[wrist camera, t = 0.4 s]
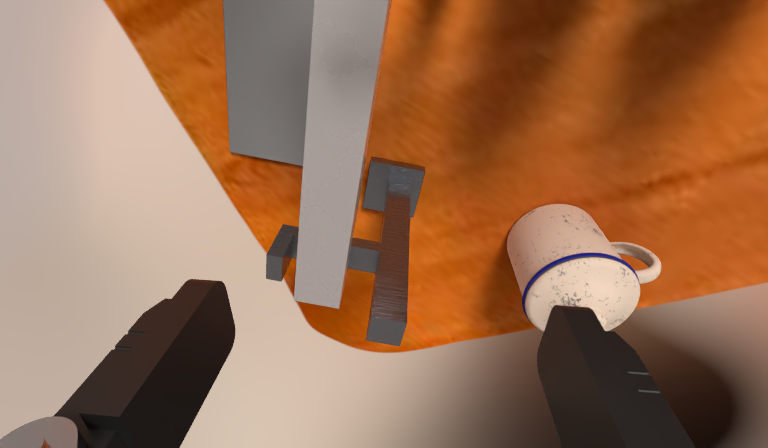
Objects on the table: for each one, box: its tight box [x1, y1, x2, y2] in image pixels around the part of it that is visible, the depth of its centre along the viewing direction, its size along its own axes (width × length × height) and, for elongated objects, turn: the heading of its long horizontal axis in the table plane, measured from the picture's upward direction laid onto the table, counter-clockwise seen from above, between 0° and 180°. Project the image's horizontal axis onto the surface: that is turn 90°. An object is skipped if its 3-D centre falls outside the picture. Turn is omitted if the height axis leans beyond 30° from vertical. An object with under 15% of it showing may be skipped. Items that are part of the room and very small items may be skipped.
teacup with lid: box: [507, 204, 661, 332], centre depth 34 cm, size 12×9×12 cm
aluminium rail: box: [294, 0, 392, 309], centre depth 20 cm, size 24×3×3 cm, turn 170°
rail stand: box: [266, 157, 425, 346], centre depth 24 cm, size 25×10×18 cm, turn 170°
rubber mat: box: [223, 0, 314, 166], centre depth 29 cm, size 25×7×1 cm, turn 170°
